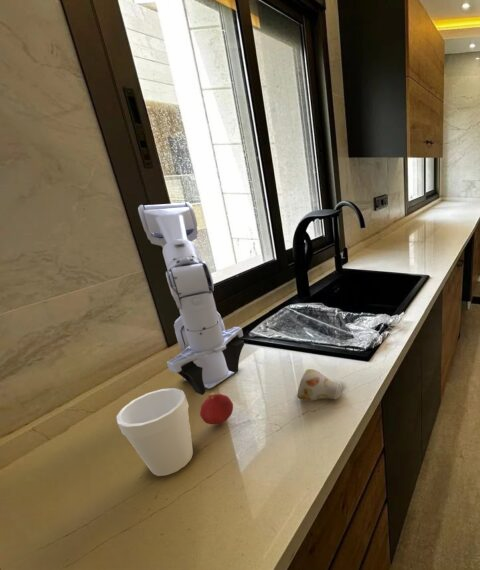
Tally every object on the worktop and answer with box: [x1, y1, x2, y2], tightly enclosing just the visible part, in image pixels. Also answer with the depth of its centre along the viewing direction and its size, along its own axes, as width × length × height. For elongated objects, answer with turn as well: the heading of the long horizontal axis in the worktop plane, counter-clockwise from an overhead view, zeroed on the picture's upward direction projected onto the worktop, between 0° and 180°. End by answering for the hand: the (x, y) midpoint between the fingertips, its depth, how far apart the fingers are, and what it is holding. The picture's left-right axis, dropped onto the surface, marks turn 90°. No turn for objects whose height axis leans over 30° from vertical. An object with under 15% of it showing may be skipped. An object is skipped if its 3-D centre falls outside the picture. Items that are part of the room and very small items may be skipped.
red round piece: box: [199, 392, 234, 426], centre depth 69 cm, size 6×6×8 cm
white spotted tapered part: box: [296, 368, 343, 402], centre depth 77 cm, size 8×10×10 cm
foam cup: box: [116, 387, 194, 477], centre depth 59 cm, size 10×9×13 cm
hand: (217, 381), depth 69 cm, fingers open, 7 cm apart
